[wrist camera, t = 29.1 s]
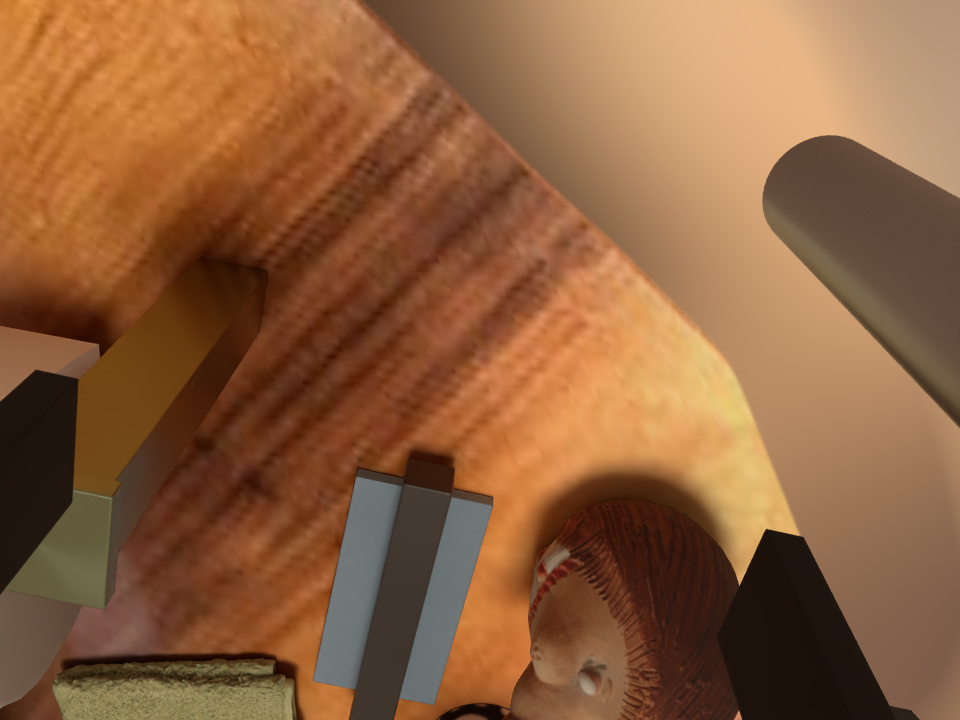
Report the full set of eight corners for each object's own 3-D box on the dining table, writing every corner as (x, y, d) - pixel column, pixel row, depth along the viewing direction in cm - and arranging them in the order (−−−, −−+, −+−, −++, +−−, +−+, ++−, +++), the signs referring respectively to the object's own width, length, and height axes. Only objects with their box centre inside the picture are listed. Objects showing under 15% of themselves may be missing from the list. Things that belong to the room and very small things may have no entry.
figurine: (460, 516, 58) (446, 688, 45) (692, 446, 56) (753, 606, 42) (531, 671, 64) (539, 865, 50) (746, 614, 61) (815, 803, 48)
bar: (408, 457, 56) (403, 483, 53) (455, 467, 56) (452, 493, 53) (351, 707, 65) (344, 740, 62) (391, 714, 65) (386, 748, 62)
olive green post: (192, 245, 51) (-39, 466, 29) (278, 265, 51) (112, 497, 30) (184, 322, 53) (-37, 582, 31) (266, 341, 53) (104, 610, 32)
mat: (358, 468, 57) (356, 476, 56) (493, 497, 58) (493, 506, 57) (315, 671, 65) (312, 681, 64) (435, 694, 65) (434, 705, 64)
